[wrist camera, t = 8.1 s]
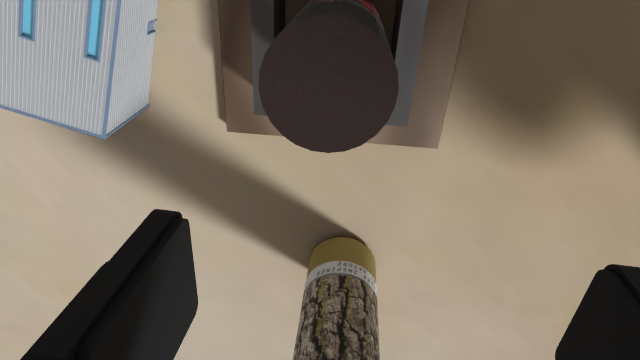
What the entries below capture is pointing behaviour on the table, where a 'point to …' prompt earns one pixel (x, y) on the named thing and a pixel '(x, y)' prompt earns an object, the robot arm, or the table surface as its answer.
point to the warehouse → (77, 61)
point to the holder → (405, 43)
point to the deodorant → (330, 76)
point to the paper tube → (339, 304)
